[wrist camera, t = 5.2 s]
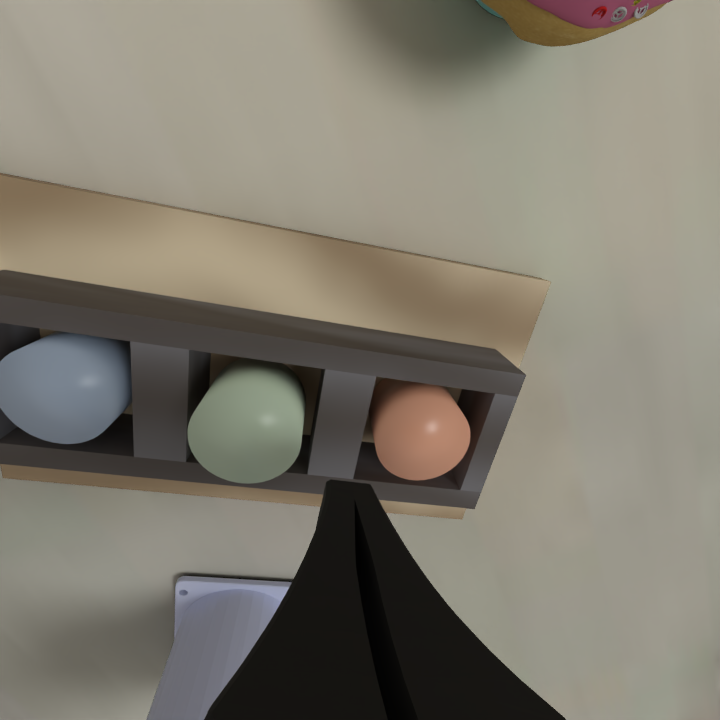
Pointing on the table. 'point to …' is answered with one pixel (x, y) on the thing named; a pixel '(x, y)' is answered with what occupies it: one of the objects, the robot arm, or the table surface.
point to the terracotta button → (417, 429)
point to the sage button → (249, 422)
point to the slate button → (66, 386)
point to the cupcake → (568, 18)
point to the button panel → (254, 340)
